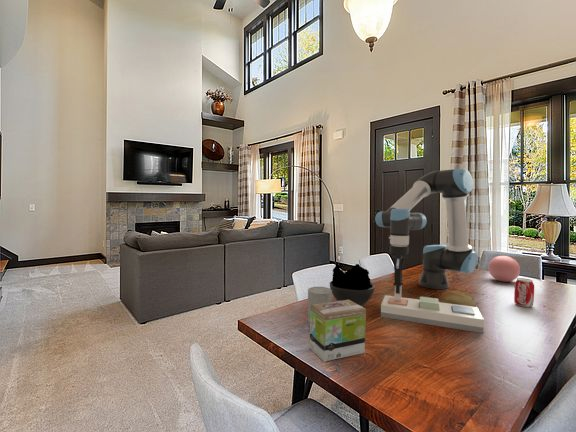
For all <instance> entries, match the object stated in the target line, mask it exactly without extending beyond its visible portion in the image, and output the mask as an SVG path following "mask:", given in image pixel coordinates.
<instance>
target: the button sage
mask: <svg viewBox="0 0 576 432" xmlns="http://www.w3.org/2000/svg"><path fill="white" fill-rule="evenodd" d="M419 300H420V308H424V309H432V310H439V302H440V299H439V298H436V297H429V296H419Z"/></svg>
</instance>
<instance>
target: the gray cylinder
mask: <svg viewBox="0 0 576 432" xmlns="http://www.w3.org/2000/svg"><path fill="white" fill-rule="evenodd" d="M332 295H333V294H332V290H331V289H330V287H325V286H312V287H309V288H308V289H307V322H308V323H310V315H311V305H312V304H320V303H327V302H332Z"/></svg>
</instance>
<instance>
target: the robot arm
mask: <svg viewBox="0 0 576 432" xmlns="http://www.w3.org/2000/svg"><path fill="white" fill-rule="evenodd" d="M412 184H413V185H412V187H411V188H410V189H409V190H408V191H407V192H406V193H405V194H403V196H401V197H400V198H399V199H398V200H396V202H395V203H394V204H392V205H391V206H390V207H389V208H388V209H387V210H386V211H384V210H383V211H378V212H377V213H376V215H375V216H374V217H375V219H374V220H375V223H376V225H377V226H378V227H379V228H389V229H390V232H389V236H388V240H389V244H390V245H389V254H390V255H392V256H395V257H394V258H393V270H394V282H393V283H392V286H394V293H393V296H394V300H396V301H401V297H402V287H403V285H404V282H403V269H404V263H405V258H403V257H404V256H408V255H409V253H410V252H409V251H410V250H409V248H410V246H409V244H410V231H419V230H422V229H424V228H425V227H426V225H427V217H426V215H425V214H424V213H422V212H411V210H412V209H413V208H414V207H415V206H417V204H418V203H420V202H421V200H423V198H426V197H427V198H428V196H430V195H432V194H442V195H441V196H442V199H444V200H445V205H446V206H445V207H446V216H447V217H446V219H447V230H448V245H446V244H431V245H429V244H428V245H424V246H423V250H422V272H421V274H420V277H419V280H418V285H419V286H421V287H424V288H427V289H434V290H447V289H448V288H449V287H450V286H449V284H450V282H449V280H448V276H447V273H446V271H452V272H456V273H457V272H458V273H461V274H471V273H472V272H474V271H475V269H476V267H477V263H478V257H479V255H478V253H477V252H476V251H473V247H472V245H471V244H469V236H468V235H469V234H468V223H467V222H468V221H467V205H466V204H467V203H466V198H468V196H469V193H470V192H472V190H473V186H474V181H473V176H472V175H471V172H469V170H468V169H465V168H460V169H459V168H454V169H443V170H434V171H431V172H428V173H427V174H425V175H423V176H421V177H419V178H418V179H417V180H416V181H415V182H414V183H412Z"/></svg>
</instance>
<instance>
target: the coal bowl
mask: <svg viewBox="0 0 576 432" xmlns="http://www.w3.org/2000/svg"><path fill="white" fill-rule="evenodd" d="M351 267H352V268H350V269H348V270H347V271H343V270H342V269H341V267H340V264H339V263H336V265H335V266H334V267H333V269H332V280H331V281H330V282H329V289H331V290H332V294H331V295H332V296H333V297H334V299H335V300H336V301H342V300H351V301H352V302H354V303H356V304H358V305H360V306H363V305H365V304H366V303H368V302H369V301H370V300H371V298H372V296H373V295H374V291H375V286H376V285H375V284H374V283H373V282H371V280H372V279H371V278H370V277H369V275H370V272H369V270H368V269H366V268H364V267H362V266H361V265H360V264H359V263H357V264H356V263H355V265H354V266H351Z"/></svg>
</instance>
